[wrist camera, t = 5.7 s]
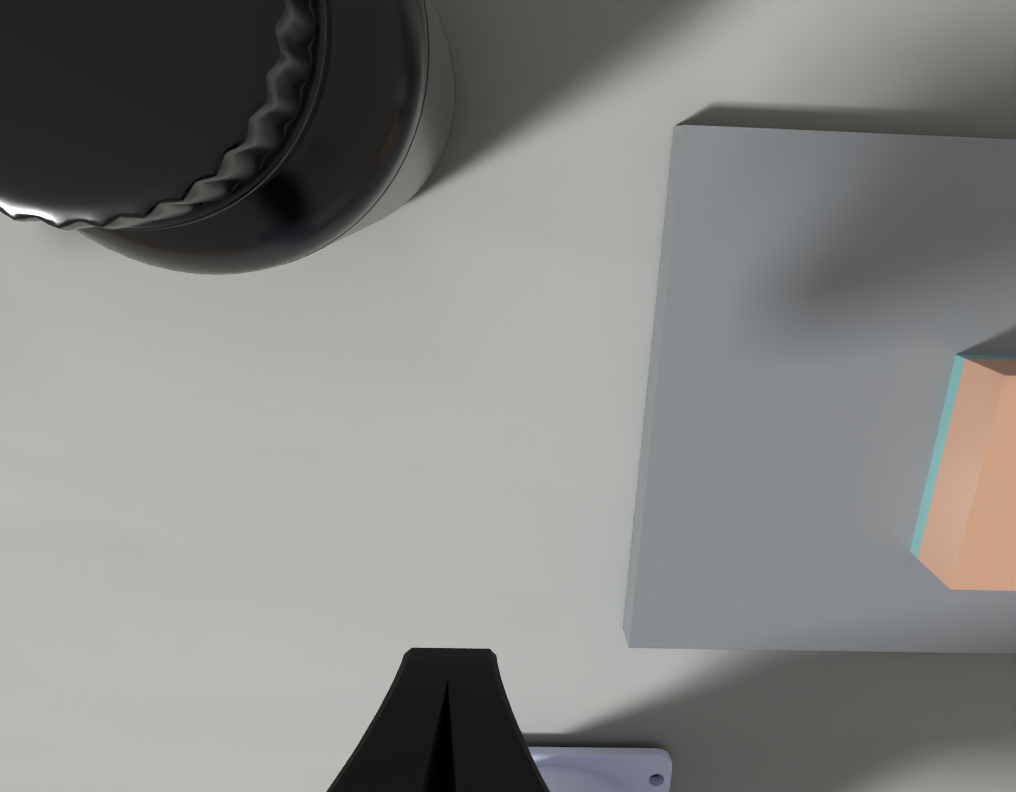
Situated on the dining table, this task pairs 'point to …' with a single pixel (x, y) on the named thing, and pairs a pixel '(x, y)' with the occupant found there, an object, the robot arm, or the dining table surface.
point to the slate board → (814, 387)
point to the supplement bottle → (219, 122)
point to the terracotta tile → (973, 480)
